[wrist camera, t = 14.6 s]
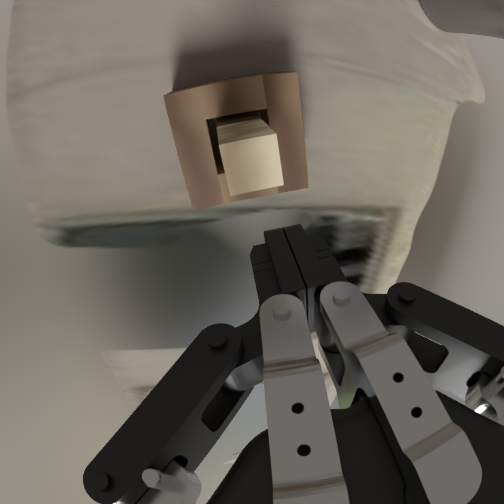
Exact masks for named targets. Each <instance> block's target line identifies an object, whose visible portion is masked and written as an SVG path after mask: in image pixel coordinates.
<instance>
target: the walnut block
mask: <svg viewBox="0 0 504 504" xmlns="http://www.w3.org/2000/svg"><path fill="white" fill-rule="evenodd" d="M164 100H165V104H166V108H167V113H168V117H169V121H170V125H171V129H172V133H173V137H174V141H175V145H176V149H177V152H178V156H179V160H180V164H181V167H182V171H183V175H184V179H185V182H186V186H187V189H188V193H189V197H190V200H191V204H192V207H193V210H197V209H201V208H206V207H211V206H215V205H220V204H225V203H230V202H234V201H239V200H244V199H249V198H255V197H260V196H265V195H270V194H276V193H281V192H287V191H293V190H299V189H304V188H308V176H307V162H306V150H305V139H304V128H303V118H302V109H301V100H300V92H299V84H298V76H297V72H274V73H265V74H257V75H250V76H243V77H237V78H231V79H225V80H220V81H215V82H210V83H205V84H200V85H196V86H192V87H187V88H183V89H179V90H176V91H172V92H170V93H168V94H166V95H164ZM248 111H254V112H255V113H256V114H257V115H258V116H259V117H261V119H262V120H263V121H264V122H265V123H266V124H267V125H268V126H269V127H270V128H271V129H272V130H273V131H274V132H275V133H276V134H277V141H278V147H279V154H280V161H281V169H282V176H283V183H284V185H282V186H277V187H272V188H267V189H262V190H257V191H252V192H248V193H243V194H238V195H234V196H230V192H229V188H228V183H227V179H226V175H225V170H224V166H223V162H222V157H221V153H220V149H219V143H218V134H217V127H216V125H217V124H216V118H218V117H223V116H227V115H232V114H237V113H242V112H248Z"/></svg>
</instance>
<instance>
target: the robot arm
mask: <svg viewBox="0 0 504 504" xmlns="http://www.w3.org/2000/svg"><path fill="white" fill-rule="evenodd" d="M419 1H420V4H421V6H422V8H423V10H424V12H425V14H426V15H427V17H428V18H429V19H430V20H431V21H432V23H433V24H434V25H436V26H437V27H438V28H439V29H441V30H443V31H446V32H452V33H465V34H475V35H483V36H491V37H497V38H503V39H504V0H419ZM264 238H265V244H261V245H256V246H253V249H252V251H251V253H250V258H251V263H252V269H253V272H254V273H253V274H254V279H255V283H256V289H257V293H258V298H259V309H258V311H257V313H256V315H255V316H254V317H253V318H252V319H251V320H249V321H248V322H246V323H245V324H243V325H240V326H239V327H236V328H235V327H233V326H231V325H228V324H222V323H220V324H214V325H211V326H208V327H207V328H205V329H204V330H202V331H201V332H200V334H199V335H198V336H197V337H196V338H195V340H194V341H193V342H192V343H191V344H190V346H189V347H188V348H187V349H186V350H185V352H184V353H183V354H182V355H181V356H180V358H179V359H178V360H177V361H176V362H175V364H174V365H173V366H172V367H171V368H170V370H169V371H168V372H167V373H166V374H165V375H164V377H163V378H162V379H161V380H160V381H159V383H158V384H157V385H156V386H155V387H154V389H153V390H152V391H151V392H150V393H149V395H148V396H147V397H146V398H145V399H144V400H143V402H142V403H141V404H140V405H139V406H138V408H137V409H136V410H135V411H134V412H133V413H132V415H131V416H130V417H129V418H128V420H127V421H126V422H125V423H124V424H123V425H122V426H121V428H120V429H119V430H118V431H117V432H116V433H115V435H114V436H113V437H112V438H111V439H110V440H109V442H108V443H107V444H106V445H105V446H104V447H103V449H102V450H101V451H100V452H99V453H98V454H97V455H96V457H95V458H94V459H93V460H92V461H91V462H90V464H89V465H88V466H87V467H86V469H85V471H84V474H83V484H84V487H85V490H86V492H87V493H88V495H89V496H90V497H91V498H92V499H93V500H94V501H96V502H98V503H101V504H196V500H197V498H198V497H199V495H200V492H201V483H200V480H199V478H198V476H197V475H196V474H195V473H194V471H195V470H196V468H197V467H198V466H199V464H200V463H201V462H202V461H203V459H204V458H205V457H206V455H207V454H208V453H209V451H210V450H211V449H212V447H213V446H214V444H215V443H216V442H217V440H218V439H219V438H220V436H221V435H222V433H223V432H224V431H225V429H226V427H227V426H228V425H229V423H230V422H231V421H232V419H233V418H234V416H235V415H236V413H237V412H238V410H239V409H240V408H241V406H242V404H243V403H244V402H245V400H246V399H247V397H248V396H249V394H250V393H251V391H252V390H253V388H254V386H255V385H256V384H258V383H260V382H262V381H264V388H265V399H266V411H267V423H268V429H266V430H265V431H263V432H261V433H260V434H259V435H257V436H256V437H254V438H253V440H251V441H250V442H249V443H248V444H247V445H246V447H245V448H244V449H243V450H242V452H241V453H240V455H239V457H238V458H237V460H236V461H235V463H234V464H233V466H232V467H231V469H230V470H229V472H228V473H227V475H226V476H225V478H224V479H223V481H222V482H221V484H220V485H219V486H218V488H217V489H216V491H215V492H214V494H213V495H212V496H211V498H210V499H209V501H208V502H207V503H206V504H504V326H502V325H500V324H498V323H496V322H494V321H492V320H490V319H488V318H486V317H484V316H482V315H479V314H477V313H475V312H473V311H471V310H469V309H467V308H465V307H462V306H460V305H458V304H456V303H454V302H452V301H450V300H447V299H445V298H443V297H441V296H439V295H436V294H434V293H432V292H430V291H427V290H425V289H423V288H421V287H419V286H416V285H414V284H411V283H406V282H401V283H396V284H394V285H392V286H391V287H390V288H389V290H388V292H387V294H367V293H363V292H361V291H360V289H359V288H358V287H357V286H355V285H354V284H351V283H348V281H347V279H346V278H345V276H344V274H343V272H342V270H341V268H340V267H339V265H338V263H337V261H336V259H335V258H334V257H333V254H332V252H331V250H329V247H328V245H327V243H326V242H325V240H324V239H322V238H321V237H320V236H318V235H317V234H311V235H306V233H305V231H304V229H303V228H302V226H301V224H297V225H292V226H288V227H283V228H277V229H272V230H267V231H264ZM314 331H316V333H317V336H318V339H319V340H318V348H319V351H320V353H321V355H322V358H323V360H324V362H325V365H326V367H327V369H328V372H329V374H330V377H331V379H332V381H333V384H334V386H335V388H336V391H337V396H338V403H339V407H340V409H330V406H329V401H328V397H327V392H326V387H325V383H324V378H323V373H322V369H321V365H320V362H319V360H318V359H316V356H315V352H314V347H313V343H312V339H311V334H310V332H314ZM414 331H415V332H418V333H419V334H421V335H423V336H425V337H427V338H429V339H432V340H434V341H436V342H438V343H440V344H442V345H439V344H437V343H435V342H433V341H431V340H429V339H427V338H425V337H423V336H421V335H418V334H417V333H415V332H414ZM431 384H433V385H435V386H437V387H439V388H441V389H443V390H445V391H447V392H449V393H451V394H453V395H455V396H457V397H459V398H461V399H463V400H465V403H466V404H465V405H463V404H461V403H459V402H457V401H456V400H454V399H452V398H450V397H448V396H446V395H444V394H442V393H441V392H439V391H436V390H434V388H433V386H432V385H431Z"/></svg>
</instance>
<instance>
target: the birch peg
mask: <svg viewBox="0 0 504 504" xmlns="http://www.w3.org/2000/svg"><path fill="white" fill-rule="evenodd" d="M216 124H217V125H216V127H217V134H218V143H219V149H220V153H221V157H222V162H223V166H224V170H225V175H226V179H227V183H228V188H229V192H230V196H234V195H238V194H243V193H248V192H252V191H257V190H262V189H267V188H272V187H277V186H282V185H284V183H283V176H282V169H281V161H280V154H279V147H278V141H277V134H276V133H275V132H274V131H273V130H272V129H271V128H270V127H269V126H268V125H267V124H266V123H265V122H264V121H263V120H262V119H261V117H259V116H258V115H257V114H256V113H255V112H254V111H248V112H242V113H237V114H232V115H227V116H223V117H218V118H216Z"/></svg>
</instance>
